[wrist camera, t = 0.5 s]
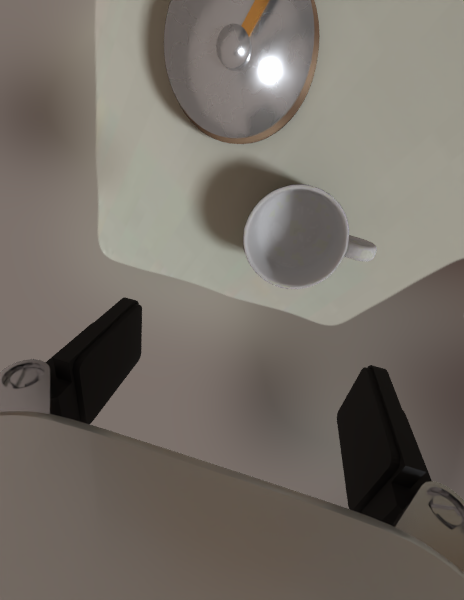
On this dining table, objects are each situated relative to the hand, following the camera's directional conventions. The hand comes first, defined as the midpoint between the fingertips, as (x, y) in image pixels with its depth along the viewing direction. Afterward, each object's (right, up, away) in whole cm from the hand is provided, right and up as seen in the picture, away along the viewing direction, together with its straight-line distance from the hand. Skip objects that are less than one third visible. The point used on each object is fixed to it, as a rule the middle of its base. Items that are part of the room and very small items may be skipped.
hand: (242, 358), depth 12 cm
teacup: (+9, +12, +24) cm, 28 cm away
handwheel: (0, +26, +15) cm, 30 cm away
